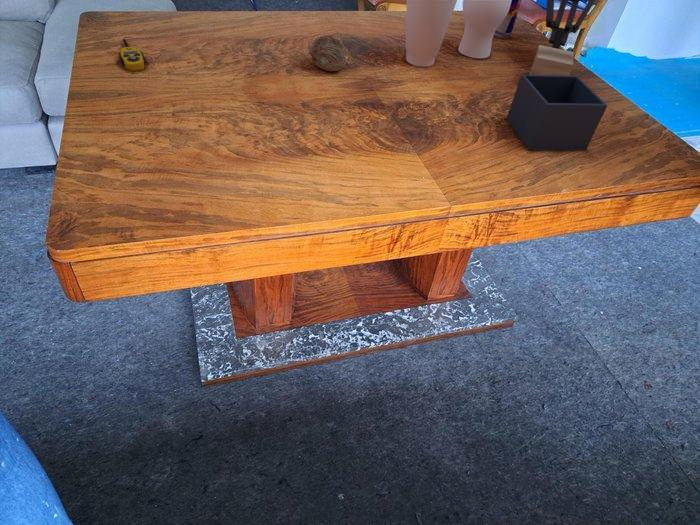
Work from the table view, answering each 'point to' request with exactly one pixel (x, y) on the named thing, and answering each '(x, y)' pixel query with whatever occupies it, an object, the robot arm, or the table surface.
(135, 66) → the yellow walkie talkie
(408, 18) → the cup
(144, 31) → the table surface
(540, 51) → the block
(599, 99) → the box
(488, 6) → the cup
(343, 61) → the seashell
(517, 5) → the beverage can
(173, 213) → the table surface
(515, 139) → the table surface
